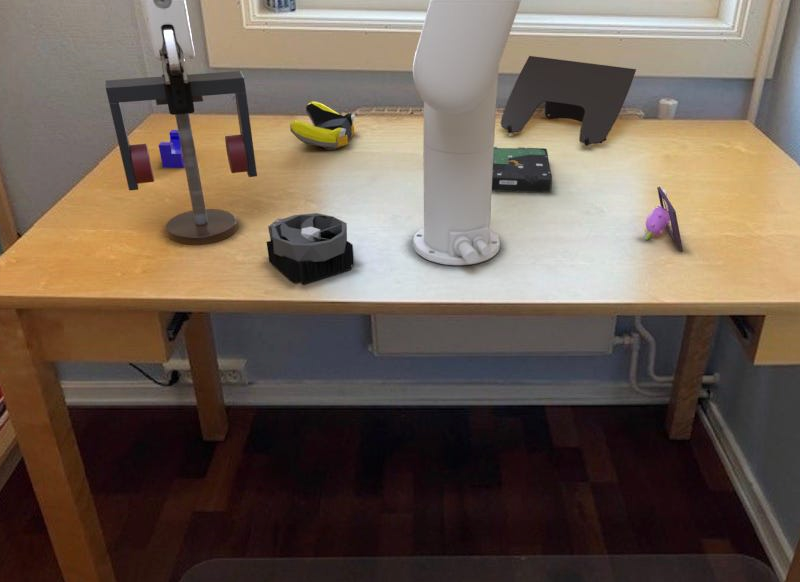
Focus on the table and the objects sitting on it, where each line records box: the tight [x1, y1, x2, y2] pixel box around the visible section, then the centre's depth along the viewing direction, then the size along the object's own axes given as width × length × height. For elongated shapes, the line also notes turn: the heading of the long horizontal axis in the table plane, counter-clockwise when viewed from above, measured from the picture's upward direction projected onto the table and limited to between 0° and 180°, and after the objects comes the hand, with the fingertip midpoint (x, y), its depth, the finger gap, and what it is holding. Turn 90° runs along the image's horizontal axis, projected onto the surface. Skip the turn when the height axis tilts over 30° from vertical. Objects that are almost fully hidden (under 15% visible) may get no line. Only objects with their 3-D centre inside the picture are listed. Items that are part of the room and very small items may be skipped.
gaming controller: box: [289, 101, 356, 151], centre depth 148 cm, size 15×6×10 cm
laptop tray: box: [500, 55, 637, 150], centre depth 158 cm, size 23×23×9 cm
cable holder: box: [158, 129, 185, 169], centre depth 139 cm, size 8×4×4 cm, turn 1°
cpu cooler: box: [266, 212, 355, 285], centre depth 106 cm, size 10×6×10 cm
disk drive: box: [492, 146, 553, 193], centre depth 136 cm, size 10×3×15 cm
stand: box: [155, 96, 238, 246], centre depth 111 cm, size 10×10×20 cm
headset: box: [105, 70, 258, 191], centre depth 108 cm, size 5×17×14 cm, turn 111°
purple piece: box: [644, 186, 684, 252], centre depth 116 cm, size 7×5×9 cm
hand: (180, 107), depth 106 cm, fingers closed on headset, 3 cm apart
